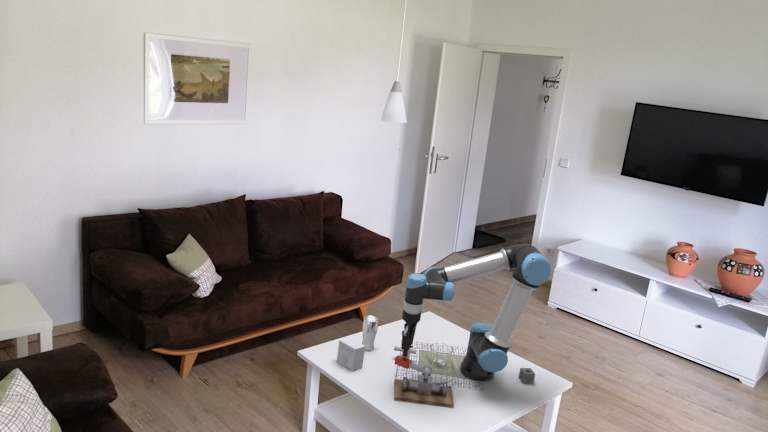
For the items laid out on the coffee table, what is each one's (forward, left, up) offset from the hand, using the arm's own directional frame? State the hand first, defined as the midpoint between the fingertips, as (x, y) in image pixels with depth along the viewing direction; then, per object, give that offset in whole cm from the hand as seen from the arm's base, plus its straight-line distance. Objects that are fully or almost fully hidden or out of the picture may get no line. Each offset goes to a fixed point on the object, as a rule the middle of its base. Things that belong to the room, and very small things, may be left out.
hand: (404, 361), depth 258 cm
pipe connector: (-1, -20, -10) cm, 22 cm away
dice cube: (-56, -15, -10) cm, 59 cm away
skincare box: (+23, -10, -10) cm, 27 cm away
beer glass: (+16, -27, -10) cm, 33 cm away
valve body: (-9, +7, -10) cm, 15 cm away
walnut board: (-9, +7, -10) cm, 15 cm away
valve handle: (-3, +4, -1) cm, 5 cm away
